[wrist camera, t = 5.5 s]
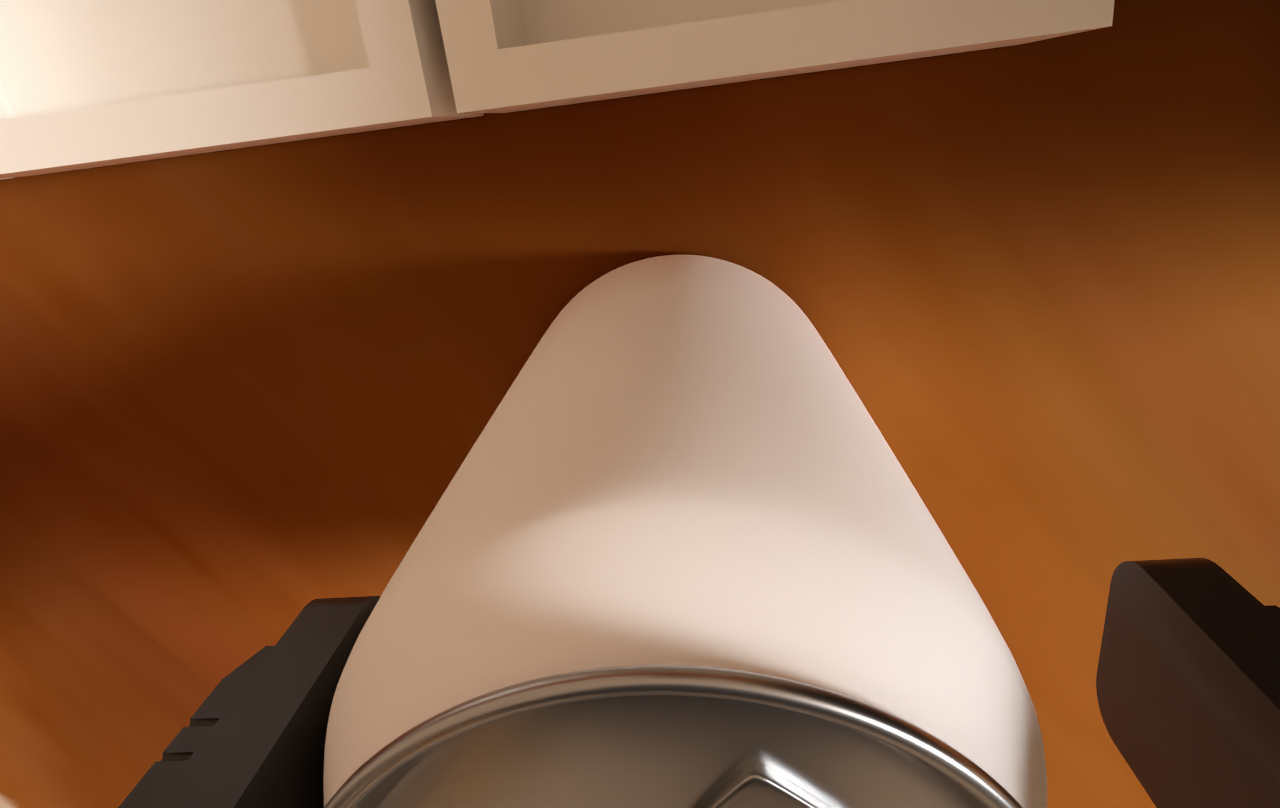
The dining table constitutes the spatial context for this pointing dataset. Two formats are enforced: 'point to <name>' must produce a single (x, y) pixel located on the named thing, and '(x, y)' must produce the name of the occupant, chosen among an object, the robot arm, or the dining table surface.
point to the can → (681, 589)
